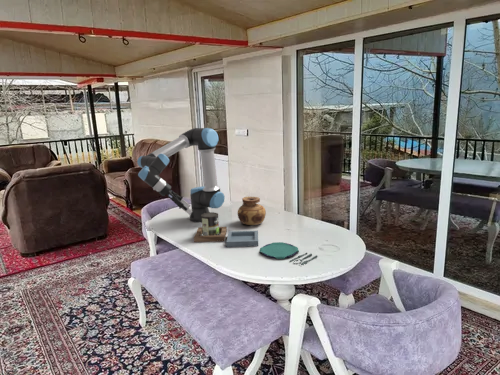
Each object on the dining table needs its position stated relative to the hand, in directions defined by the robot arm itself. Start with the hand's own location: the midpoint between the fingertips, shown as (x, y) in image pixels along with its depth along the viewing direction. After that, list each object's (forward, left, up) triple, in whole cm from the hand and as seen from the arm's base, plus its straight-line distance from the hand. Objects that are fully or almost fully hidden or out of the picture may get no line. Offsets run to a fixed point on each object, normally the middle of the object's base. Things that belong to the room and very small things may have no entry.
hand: (190, 210), depth 221 cm
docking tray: (+6, +31, -18) cm, 37 cm away
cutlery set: (+28, +55, -19) cm, 65 cm away
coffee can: (-3, +11, -18) cm, 22 cm away
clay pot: (-26, +36, -18) cm, 48 cm away
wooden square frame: (-3, +11, -18) cm, 22 cm away
